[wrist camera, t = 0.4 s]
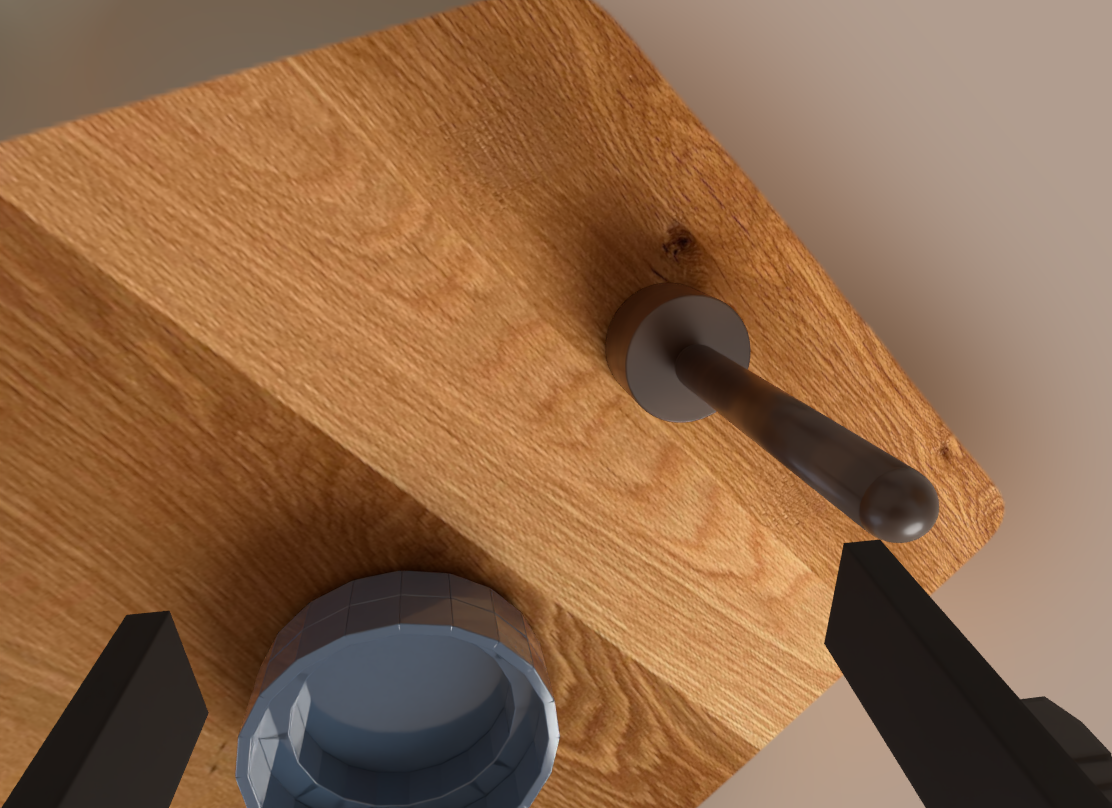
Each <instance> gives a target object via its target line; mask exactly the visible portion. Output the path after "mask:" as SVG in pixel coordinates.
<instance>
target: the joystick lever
mask: <svg viewBox="0 0 1112 808" xmlns="http://www.w3.org/2000/svg"><path fill="white" fill-rule="evenodd" d="M606 358H607V362H608V366H609V368H610V371H611V373H612V375H613V376H614V378H615V379H616V381H617V382H618V383H619V384H620V385H621V386H622V387H623V388H624V390H625V391H626V392H627V393H628V394H629V395H630V396H631V397H632V398H633V399H634V400H635V401H636V402H637V403H638V404H639V405H640V406H641V407H642V408H643V409H644V410H645V411H646V412H648V413H649V414H651V415H653V416H654V417H657V418H659V419H661V420H665V421H669V422H680V423H684V422H692V421H696V420H700V419H703V418H705V417H708V416H710V415H711V414H713V413H715V412H718V413H719V414H720V415H722V416H723V417H724V418H725V419H727V420H728V421H729V422H730V423H732V424H733V425H734V426H735V427H737V428H738V429H739V430H741V431H742V432H743V433H744V434H746V435H747V436H748V437H749V438H751V439H752V440H753V441H754V442H756V443H757V444H758V445H759V446H761V447H762V448H763V449H764V450H766V451H767V452H768V453H769V454H771V455H772V456H773V457H774V458H776V459H777V460H778V461H779V462H781V463H782V464H783V465H784V466H786V467H787V468H788V469H789V470H791V471H792V472H793V473H794V474H796V475H797V476H798V477H799V478H801V479H802V480H803V481H804V482H806V483H807V484H808V485H809V486H811V487H812V488H813V489H814V490H816V491H817V492H818V493H819V494H821V495H822V496H823V497H824V498H826V499H827V500H828V501H829V502H831V503H832V504H833V505H834V506H836V507H837V508H838V509H839V510H841V511H842V512H843V513H844V514H846V515H847V516H848V517H849V518H851V519H852V520H853V521H854V522H856V523H857V524H858V525H859V526H861V527H862V528H863V529H864V530H866V531H867V532H868V533H870V534H871V535H873V536H875V537H876V538H878V539H881V540H884V541H887V542H893V543H905V542H910V541H913V540H916V539H918V538H920V537H922V536H923V535H925V534H926V533H927V532H928V531H929V530H930V529H931V528H932V527H933V525H934V524H935V522H936V520H937V517H938V513H939V499H938V496H937V493H936V490H935V489H934V487H933V485H932V484H931V483H930V481H929V480H928V479H927V478H926V477H925V476H924V475H922V474H921V473H920V472H918V471H917V470H915V469H913V468H912V467H910V466H908V465H906V464H905V463H903V462H901V461H900V460H898V459H896V458H895V457H893V456H891V455H890V454H888V453H886V452H885V451H883V450H881V449H880V448H878V447H876V446H875V445H873V444H871V443H870V442H868V441H866V440H865V439H863V438H861V437H860V436H858V435H856V434H855V433H853V432H851V431H850V430H848V429H846V428H845V427H843V426H841V425H840V424H838V423H836V422H834V421H833V420H831V419H829V418H828V417H826V416H824V415H823V414H821V413H819V412H818V411H816V410H814V409H813V408H811V407H809V406H808V405H806V404H804V403H803V402H801V401H799V400H798V399H796V398H794V397H793V396H791V395H789V394H788V393H786V392H784V391H783V390H781V389H779V388H778V387H776V386H774V385H773V384H771V383H769V382H767V381H766V380H764V379H762V378H761V377H759V376H757V375H756V374H754V373H752V372H751V371H749V370H748V367H749V362H750V341H749V336H748V332H747V330H746V327H745V325H744V323H743V321H742V319H741V318H740V317H739V315H738V314H737V313H736V312H735V311H734V310H733V309H732V308H731V307H730V306H729V305H727V304H726V303H724V302H723V301H721V300H719V299H717V298H714V297H712V296H709V295H707V294H705V293H702V292H700V291H698V290H695V289H693V288H690V287H688V286H685V285H682V284H676V283H660V284H656V285H652V286H649V287H646V288H644V289H642V290H640V291H638V292H637V293H635V294H634V295H632V296H631V297H630V298H629V299H627V300H626V301H625V302H624V303H623V304H622V306H621V307H620V308H619V309H618V311H617V312H616V314H615V315H614V317H613V319H612V321H611V323H610V326H609V329H608V332H607V337H606Z"/></svg>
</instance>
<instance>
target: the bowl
mask: <svg viewBox="0 0 1112 808" xmlns="http://www.w3.org/2000/svg"><path fill="white" fill-rule="evenodd" d="M559 739H560V733H559V726H558V719H557V713H556V706H555V700H554V696H553V692H552V688H551V684H550V681H549V677H548V673H547V669H546V665H545V661H544V658H543V654H542V650H541V646H540V643H539V641H538V639H537V638H536V636H535V634H534V633H533V631H532V629H531V628H530V626H529V624H528V623H527V621H526V619H525V618H524V616H523V614H522V613H521V612H520V611H519V610H518V609H516V608H515V607H514V606H512V605H511V604H510V603H509V602H507V601H506V600H505V599H504V598H502V597H501V596H500V595H498V594H497V593H496V592H495V591H493V590H492V589H491V588H489V587H486V586H484V585H481V584H478V583H475V582H472V581H470V580H467V579H464V578H461V577H459V576H456V575H453V574H450V573H449V574H448V573H438V572H422V571H406V570H403V571H401V570H400V571H395V572H390V573H385V574H380V575H375V576H371V577H366V578H361V579H356V580H352V581H350V582H348V583H347V584H345V585H343V586H341V587H339V588H337V589H335V590H333V591H331V592H329V593H327V594H325V595H323V596H321V597H319V598H317V599H315V600H313V601H311V602H310V603H309V604H308V605H307V606H306V607H305V608H304V609H303V610H301V611H300V612H299V613H298V614H297V615H296V616H295V617H294V618H293V619H292V620H291V621H290V622H289V623H288V624H287V625H286V626H285V627H284V628H283V629H282V630H281V631H280V632H279V633H278V634H277V636H276V638H275V639H274V641H273V643H272V645H271V647H270V649H269V651H268V653H267V655H266V657H265V659H264V661H263V663H262V665H261V667H260V669H259V672H258V675H257V678H256V681H255V685H254V688H253V691H252V694H251V697H250V701H249V704H248V707H247V710H246V713H245V716H244V719H243V722H242V726H241V729H240V732H239V735H238V744H237V759H236V773H235V776H236V781H237V783H238V786H239V789H240V791H241V794H242V796H243V799H244V802H245V804H246V807H247V808H529V807H530V806H531V804H532V802H533V801H534V799H535V798H536V796H537V795H538V793H539V792H540V790H541V788H542V787H543V785H544V784H545V782H546V781H547V779H548V778H549V776H550V774H551V772H552V767H553V763H554V759H555V755H556V751H557V747H558V743H559Z"/></svg>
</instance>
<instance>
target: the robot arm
mask: <svg viewBox="0 0 1112 808" xmlns="http://www.w3.org/2000/svg"><path fill="white" fill-rule="evenodd" d="M824 644H825V645H826V647H827V649H828V650H829V652H830V654H831V655H832V657H833V658H834V660H835V662H836V663H837V665H838V667H839V668H840V670H841V671H842V673H843V675H844V676H845V678H846V679H847V681H848V682H849V684H850V686H851V688H852V689H853V691H854V692H855V694H856V696H857V697H858V699H859V700H860V702H861V704H862V705H863V707H864V709H865V710H866V712H867V713H868V715H869V717H870V718H871V720H872V721H873V723H874V725H875V726H876V728H877V730H878V731H879V733H880V734H881V736H882V738H883V739H884V741H885V743H886V744H887V746H888V747H889V749H890V751H891V752H892V754H893V755H894V757H895V759H896V760H897V762H898V764H899V765H900V767H901V768H902V770H903V772H904V773H905V775H906V777H907V778H908V780H909V781H910V783H911V784H912V786H913V788H914V789H915V791H916V793H917V794H918V796H919V798H920V799H921V801H922V802H923V804H924V806H925V807H926V808H1112V756H1111V753H1110V752H1109V751H1108V749H1107V748H1106V747H1105V746H1104V745H1103V744H1102V743H1101V742H1100V741H1099V740H1098V739H1097V738H1096V737H1095V736H1094V735H1093V734H1092V732H1090V730H1089V729H1088V728H1087V727H1086V726H1085V725H1084V724H1083V723H1082V722H1081V721H1080V720H1078V719H1077V718H1075V717H1074V716H1072V715H1071V714H1069V713H1068V712H1067V711H1065V710H1064V709H1062V708H1061V707H1059V706H1058V705H1056V704H1055V703H1053V702H1052V701H1050V700H1049V699H1048V698H1046V697H1036V698H1028V699H1019V698H1018V696H1017V695H1016V694H1015V693H1014V692H1013V691H1012V690H1011V688H1010V687H1009V686H1008V685H1007V684H1006V683H1005V682H1004V680H1002V678H1001V677H1000V676H999V675H998V674H997V673H996V671H995V670H994V669H993V668H992V667H991V666H990V665H989V663H988V662H987V661H986V660H985V659H984V658H983V657H982V655H981V654H980V653H979V652H978V651H977V650H976V649H975V647H974V646H973V645H972V644H971V643H970V642H969V641H968V640H967V638H966V637H965V636H964V635H963V634H962V633H961V632H960V630H959V629H958V628H957V627H956V626H955V625H954V624H953V622H952V621H951V620H950V619H949V618H948V617H947V616H946V614H945V613H944V612H943V611H942V610H941V609H940V608H939V606H938V605H937V604H936V603H935V602H934V601H933V600H932V599H931V597H930V596H929V595H928V594H927V593H926V592H925V590H924V589H923V588H922V587H921V586H920V585H919V584H918V582H917V581H916V580H915V579H914V578H913V577H912V576H911V574H910V573H909V572H908V571H907V570H906V569H905V568H904V567H903V565H902V564H901V563H900V562H899V561H898V560H897V559H896V557H895V556H894V555H893V554H892V553H891V552H890V551H889V549H888V548H887V547H886V546H885V545H884V544H883V543H882V541H881V540H871V541H861V542H851V543H844V545H843V550H842V555H841V561H840V566H839V571H838V576H837V581H836V586H835V591H834V596H833V601H832V607H831V612H830V617H829V622H828V627H827V632H826V637H825V642H824ZM207 715H208V710H207V708H206V705H205V702H204V700H203V697H202V694H201V692H200V689H199V687H198V684H197V681H196V679H195V676H194V674H193V671H192V668H191V666H190V663H189V660H188V658H187V655H186V653H185V650H184V647H183V645H182V642H181V640H180V637H179V634H178V632H177V629H176V627H175V624H174V621H173V619H172V616H171V613H170V611H162V612H152V613H142V614H132V615H126V616H125V618H124V620H123V621H122V623H121V624H120V626H119V627H118V629H117V630H116V632H115V633H114V635H113V637H112V638H111V640H110V641H109V643H108V644H107V646H106V647H105V649H104V650H103V652H102V654H101V655H100V657H99V658H98V660H97V661H96V663H95V664H94V666H93V667H92V669H91V670H90V672H89V674H88V675H87V677H86V678H85V680H84V681H83V683H82V684H81V686H80V687H79V689H78V691H77V692H76V694H75V695H74V697H73V698H72V700H71V701H70V703H69V704H68V706H67V708H66V709H65V711H64V712H63V714H62V715H61V717H60V718H59V720H58V721H57V723H56V725H55V726H54V728H53V729H52V731H51V732H50V734H49V735H48V737H47V738H46V740H45V741H44V743H43V745H42V746H41V748H40V749H39V751H38V752H37V754H36V755H35V757H34V758H33V760H32V762H31V763H30V765H29V766H28V768H27V769H26V771H25V772H24V774H23V775H22V777H21V779H20V780H19V782H18V783H17V785H16V786H15V788H14V789H13V791H12V792H11V794H10V796H9V797H8V799H7V800H6V802H5V803H4V805H3V806H2V808H169V806H170V804H171V801H172V799H173V797H174V794H175V792H176V790H177V787H178V785H179V782H180V780H181V778H182V775H183V773H184V770H185V768H186V766H187V763H188V761H189V758H190V756H191V754H192V751H193V749H194V747H195V744H196V742H197V739H198V737H199V735H200V732H201V730H202V727H203V725H204V723H205V720H206V718H207Z"/></svg>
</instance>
